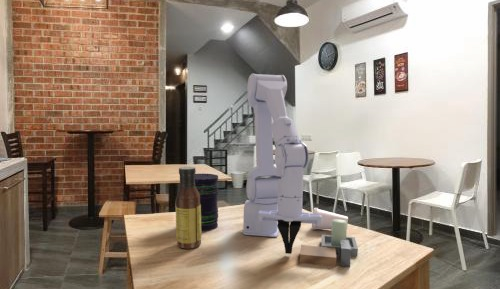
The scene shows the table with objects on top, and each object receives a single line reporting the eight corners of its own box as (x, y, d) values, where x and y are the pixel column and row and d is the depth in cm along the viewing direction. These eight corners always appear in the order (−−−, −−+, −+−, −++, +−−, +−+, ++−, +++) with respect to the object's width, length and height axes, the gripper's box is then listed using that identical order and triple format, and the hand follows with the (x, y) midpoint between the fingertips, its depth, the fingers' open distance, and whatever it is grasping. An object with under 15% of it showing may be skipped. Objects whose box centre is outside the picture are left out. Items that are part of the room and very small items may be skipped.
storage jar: (204, 233, 101) (204, 180, 100) (177, 227, 106) (177, 176, 104) (224, 224, 109) (225, 175, 108) (198, 219, 114) (198, 172, 113)
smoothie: (349, 207, 104) (300, 200, 108) (347, 223, 99) (296, 215, 103) (347, 223, 108) (300, 216, 112) (345, 239, 103) (296, 231, 107)
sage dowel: (330, 243, 93) (331, 218, 93) (344, 244, 93) (345, 219, 92) (331, 248, 90) (332, 223, 89) (346, 249, 89) (347, 223, 89)
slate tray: (321, 253, 88) (321, 245, 88) (321, 241, 96) (321, 234, 96) (357, 256, 86) (357, 248, 86) (354, 244, 95) (354, 237, 94)
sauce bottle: (191, 239, 96) (192, 164, 94) (206, 245, 92) (207, 167, 90) (170, 245, 91) (170, 167, 90) (184, 252, 87) (184, 170, 85)
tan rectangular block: (299, 264, 82) (299, 254, 82) (300, 254, 88) (301, 245, 88) (336, 268, 80) (336, 257, 80) (334, 257, 86) (335, 247, 86)
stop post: (340, 266, 80) (341, 248, 80) (339, 255, 86) (340, 239, 86) (350, 266, 80) (350, 249, 80) (348, 256, 86) (348, 240, 86)
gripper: (256, 197, 82) (255, 255, 83) (322, 201, 79) (320, 261, 80) (261, 190, 89) (260, 244, 90) (321, 194, 86) (320, 249, 87)
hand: (288, 252), depth 86 cm, fingers closed
